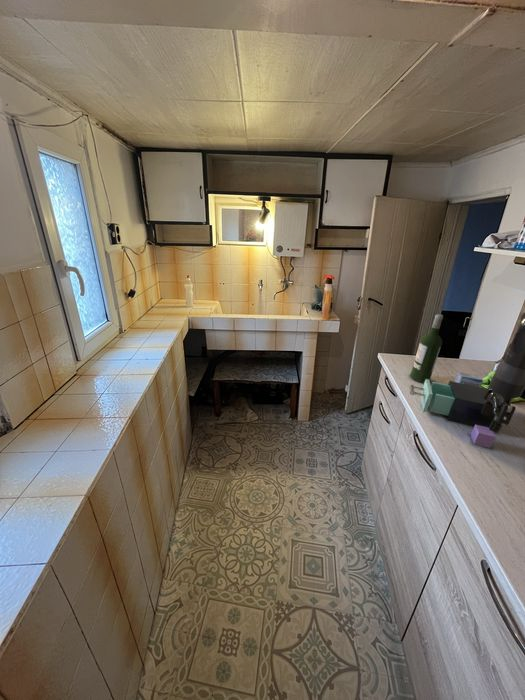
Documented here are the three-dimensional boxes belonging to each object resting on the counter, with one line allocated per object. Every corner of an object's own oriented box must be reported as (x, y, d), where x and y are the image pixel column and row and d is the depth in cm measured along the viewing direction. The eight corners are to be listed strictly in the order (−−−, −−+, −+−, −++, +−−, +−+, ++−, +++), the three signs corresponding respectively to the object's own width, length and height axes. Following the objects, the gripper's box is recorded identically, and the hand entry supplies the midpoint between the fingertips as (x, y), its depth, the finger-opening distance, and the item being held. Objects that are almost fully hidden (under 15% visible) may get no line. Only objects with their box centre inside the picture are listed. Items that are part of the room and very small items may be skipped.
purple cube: (486, 439, 92) (491, 428, 90) (490, 448, 88) (496, 437, 86) (470, 435, 94) (475, 424, 92) (473, 443, 90) (478, 432, 88)
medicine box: (454, 394, 116) (461, 376, 112) (451, 389, 120) (457, 371, 116) (476, 398, 114) (483, 380, 110) (472, 393, 118) (479, 375, 114)
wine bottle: (407, 373, 131) (425, 311, 118) (424, 374, 131) (444, 312, 118) (414, 382, 124) (434, 317, 111) (432, 383, 124) (454, 318, 111)
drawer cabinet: (447, 420, 100) (455, 398, 96) (441, 401, 111) (449, 380, 107) (496, 432, 95) (507, 409, 91) (485, 411, 106) (495, 390, 102)
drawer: (407, 407, 105) (412, 389, 102) (406, 392, 115) (410, 375, 111) (465, 421, 99) (473, 403, 95) (459, 404, 108) (466, 387, 105)
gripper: (538, 393, 73) (511, 440, 80) (516, 369, 86) (495, 412, 92) (503, 386, 76) (480, 433, 83) (487, 364, 88) (469, 406, 95)
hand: (488, 422), depth 88 cm, fingers open, 8 cm apart
